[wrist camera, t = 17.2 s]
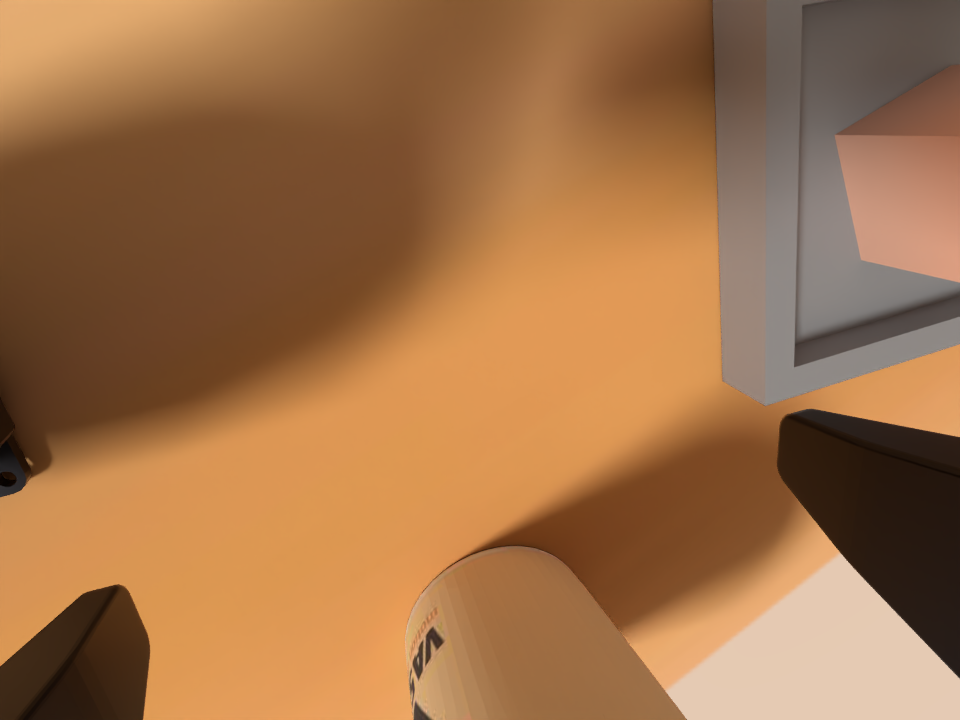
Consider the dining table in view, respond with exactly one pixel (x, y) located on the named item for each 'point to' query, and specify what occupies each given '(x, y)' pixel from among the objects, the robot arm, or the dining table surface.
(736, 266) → the grey square tray
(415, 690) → the coffee cup
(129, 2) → the dining table surface
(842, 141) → the terracotta block
